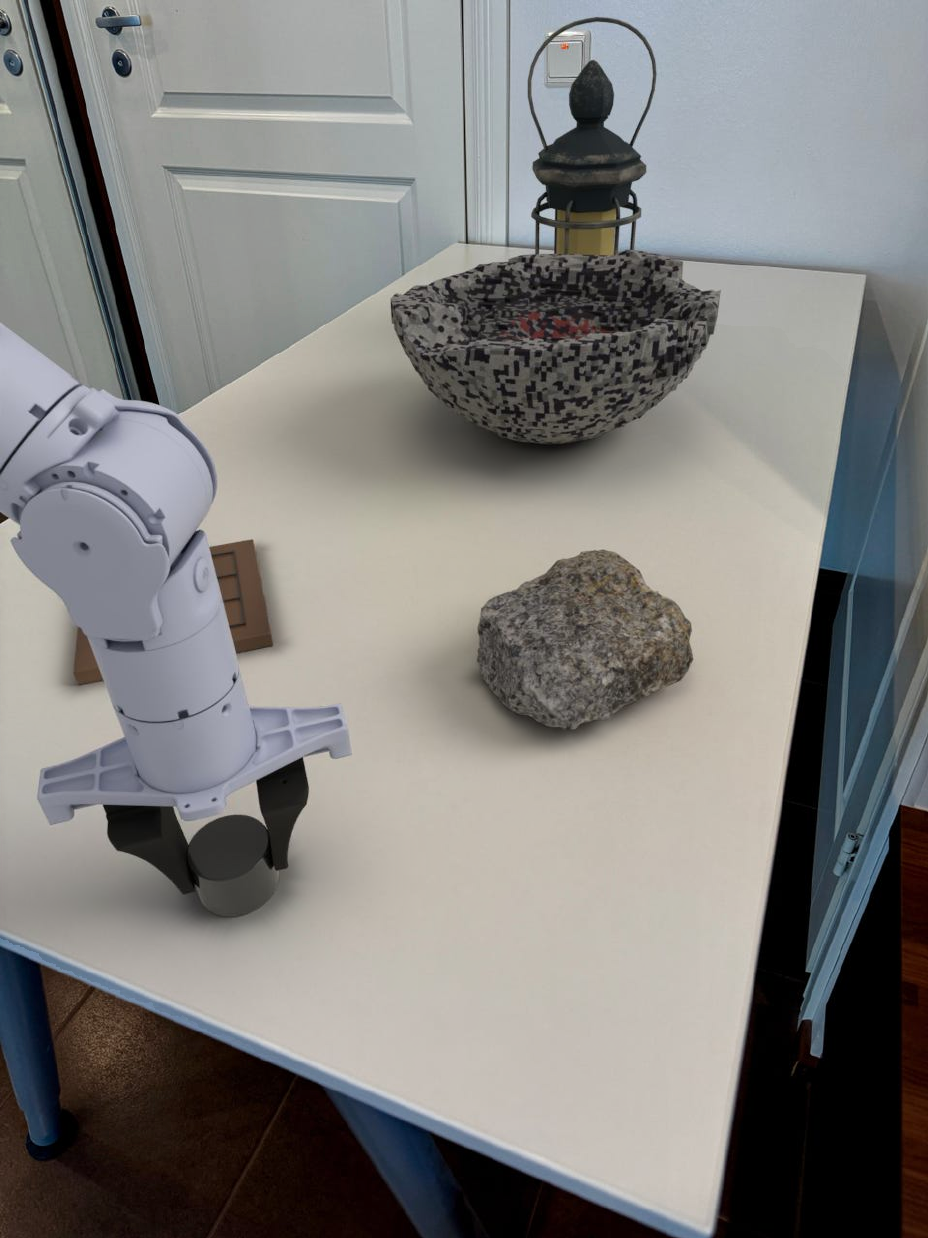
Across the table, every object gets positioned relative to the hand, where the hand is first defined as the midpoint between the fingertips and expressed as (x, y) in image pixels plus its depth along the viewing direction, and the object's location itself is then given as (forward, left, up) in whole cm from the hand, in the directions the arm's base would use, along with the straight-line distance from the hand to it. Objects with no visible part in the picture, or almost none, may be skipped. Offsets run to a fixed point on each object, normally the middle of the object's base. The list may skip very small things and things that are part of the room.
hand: (233, 867), depth 48 cm
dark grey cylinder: (0, 0, -1) cm, 1 cm away
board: (-3, +28, -1) cm, 28 cm away
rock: (+25, +11, -2) cm, 27 cm away
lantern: (+50, +72, -2) cm, 88 cm away
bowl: (+37, +49, -2) cm, 61 cm away
